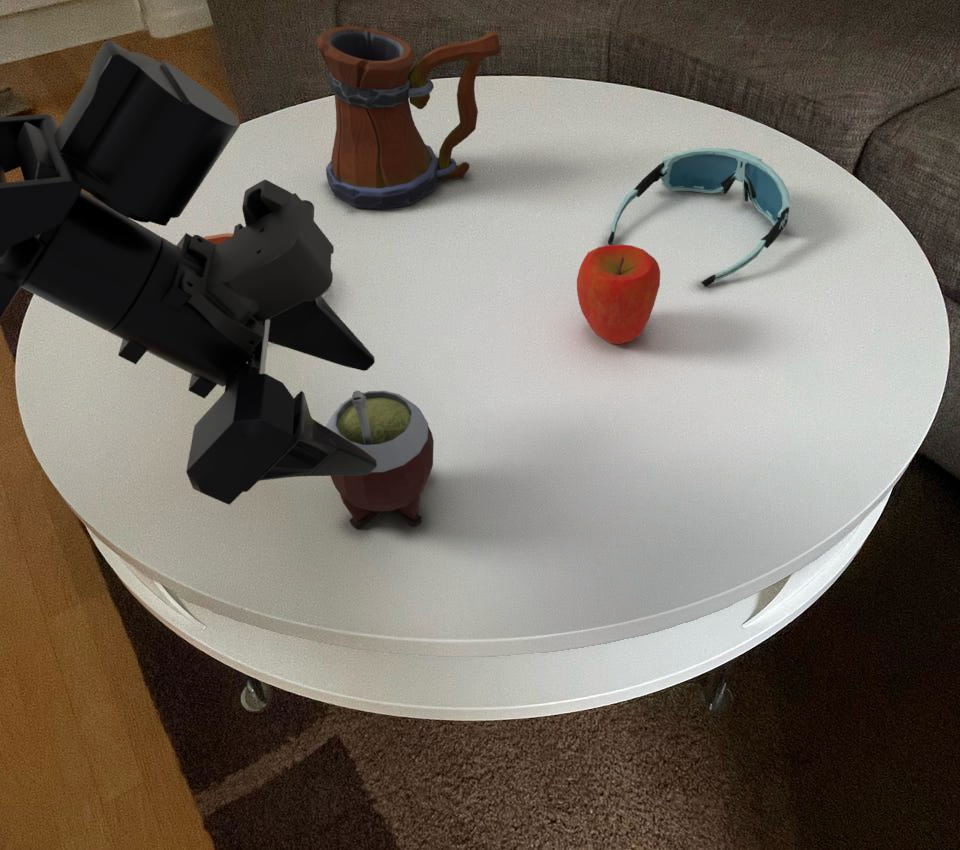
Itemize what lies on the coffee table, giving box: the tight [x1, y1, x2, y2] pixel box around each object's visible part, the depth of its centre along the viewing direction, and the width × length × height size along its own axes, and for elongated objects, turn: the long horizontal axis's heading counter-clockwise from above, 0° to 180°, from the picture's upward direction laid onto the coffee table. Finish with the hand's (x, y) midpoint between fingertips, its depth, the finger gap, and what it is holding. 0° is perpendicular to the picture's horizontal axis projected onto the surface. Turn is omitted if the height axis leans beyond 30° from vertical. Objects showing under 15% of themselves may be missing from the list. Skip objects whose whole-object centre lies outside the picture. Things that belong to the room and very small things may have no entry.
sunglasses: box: [607, 147, 792, 287], centre depth 83 cm, size 14×15×5 cm
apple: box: [576, 244, 661, 345], centre depth 72 cm, size 6×6×8 cm
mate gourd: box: [325, 390, 435, 530], centre depth 57 cm, size 8×8×15 cm
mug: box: [315, 25, 502, 210], centre depth 88 cm, size 18×12×15 cm, turn 93°
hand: (371, 413), depth 56 cm, fingers open, 9 cm apart
